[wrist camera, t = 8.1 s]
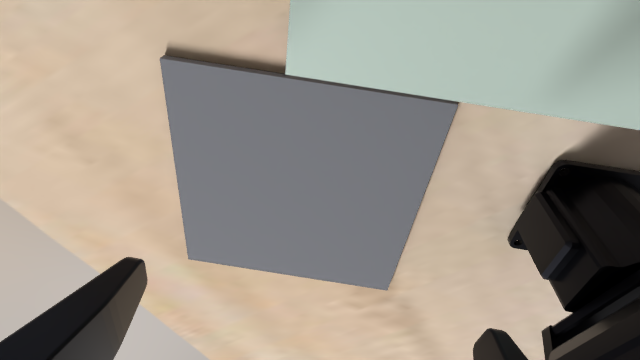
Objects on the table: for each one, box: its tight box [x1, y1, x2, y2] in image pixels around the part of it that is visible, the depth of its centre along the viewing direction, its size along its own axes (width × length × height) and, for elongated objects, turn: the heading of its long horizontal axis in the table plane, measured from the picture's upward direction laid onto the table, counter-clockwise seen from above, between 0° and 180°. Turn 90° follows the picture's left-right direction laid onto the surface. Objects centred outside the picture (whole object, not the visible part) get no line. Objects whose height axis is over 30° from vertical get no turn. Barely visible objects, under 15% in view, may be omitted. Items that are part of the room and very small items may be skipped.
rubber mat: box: [160, 55, 458, 290], centre depth 22 cm, size 15×15×1 cm
